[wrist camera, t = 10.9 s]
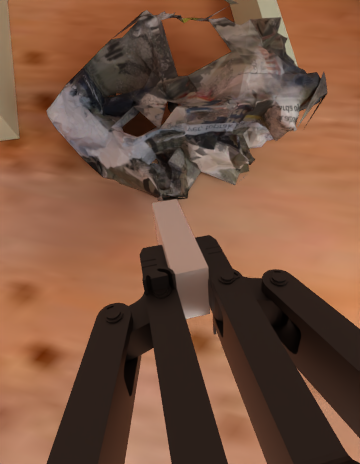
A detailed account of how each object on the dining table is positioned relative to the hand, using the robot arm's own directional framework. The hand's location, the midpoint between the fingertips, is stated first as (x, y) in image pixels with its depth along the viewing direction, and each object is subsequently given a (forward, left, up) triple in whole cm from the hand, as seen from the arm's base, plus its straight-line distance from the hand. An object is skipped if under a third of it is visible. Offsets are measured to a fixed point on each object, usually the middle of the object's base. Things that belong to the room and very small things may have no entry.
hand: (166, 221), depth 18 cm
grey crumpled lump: (+8, -3, -4) cm, 9 cm away
